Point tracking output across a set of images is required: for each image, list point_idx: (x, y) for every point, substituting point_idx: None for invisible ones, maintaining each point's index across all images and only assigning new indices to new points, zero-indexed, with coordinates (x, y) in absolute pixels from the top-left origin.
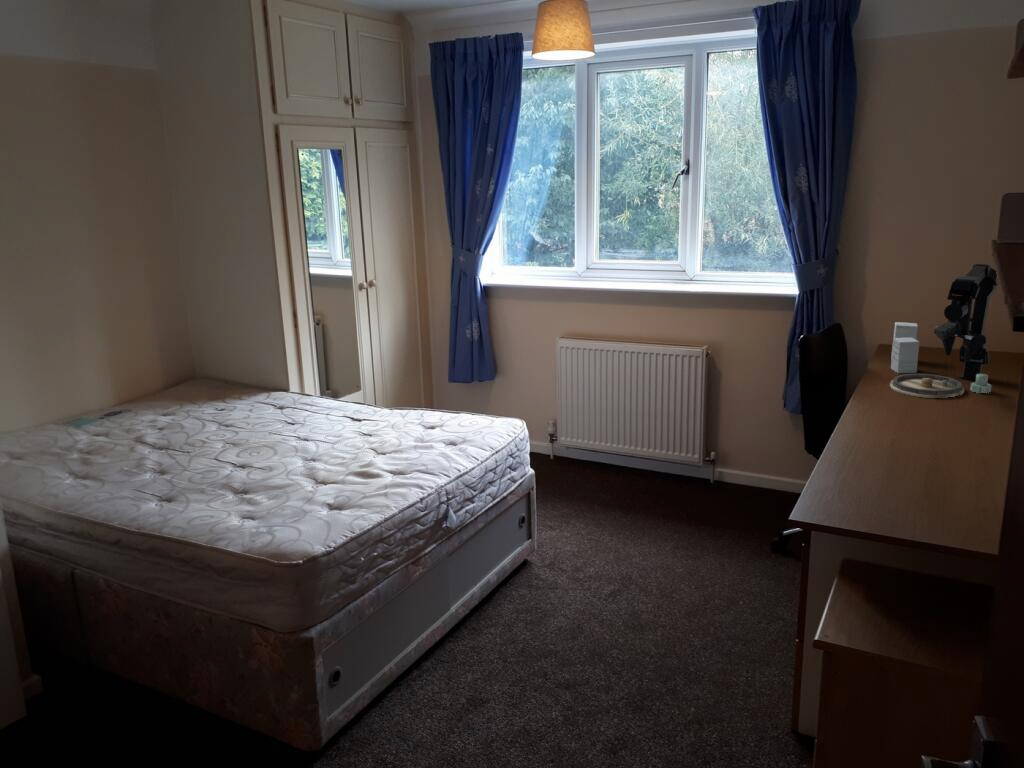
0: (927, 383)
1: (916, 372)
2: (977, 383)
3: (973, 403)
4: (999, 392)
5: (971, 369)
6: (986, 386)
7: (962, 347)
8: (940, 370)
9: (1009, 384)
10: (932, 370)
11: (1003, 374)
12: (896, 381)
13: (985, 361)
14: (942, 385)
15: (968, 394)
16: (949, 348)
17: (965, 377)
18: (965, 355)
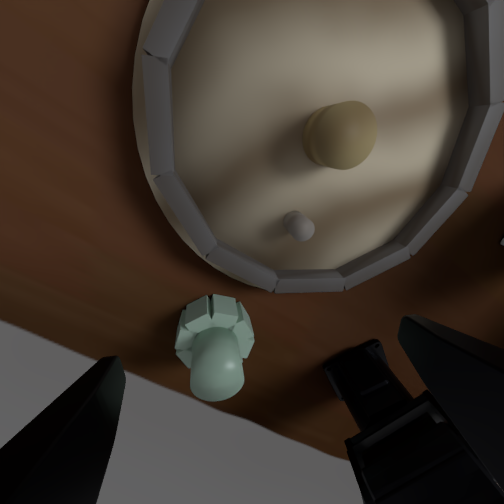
0: (316, 121)
1: (500, 243)
2: (209, 333)
3: (27, 202)
4: (186, 370)
5: (359, 389)
6: (183, 349)
7: (479, 472)
8: (465, 329)
9: (259, 423)
10: (481, 308)
11: (344, 443)
12: None
13: (350, 459)
14: (296, 212)
15: (184, 264)
16: (466, 398)
17: (356, 351)
18: (42, 434)
